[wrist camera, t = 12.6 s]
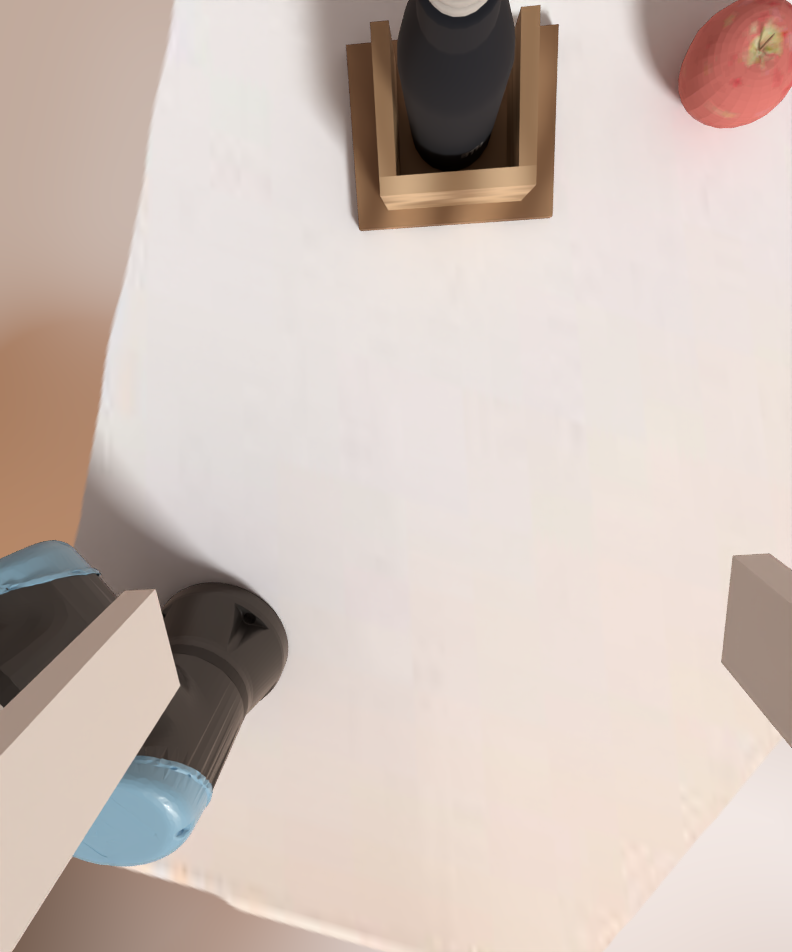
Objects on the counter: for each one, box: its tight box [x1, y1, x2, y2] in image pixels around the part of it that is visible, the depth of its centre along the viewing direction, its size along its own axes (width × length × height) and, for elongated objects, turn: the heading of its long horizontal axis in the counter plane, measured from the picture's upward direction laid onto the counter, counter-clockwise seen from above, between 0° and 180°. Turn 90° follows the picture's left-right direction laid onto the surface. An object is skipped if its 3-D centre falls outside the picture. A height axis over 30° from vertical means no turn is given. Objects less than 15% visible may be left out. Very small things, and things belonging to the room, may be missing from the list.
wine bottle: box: [397, 0, 515, 171], centre depth 29 cm, size 6×6×30 cm
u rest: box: [346, 5, 559, 231], centre depth 40 cm, size 16×13×8 cm
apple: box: [679, 0, 792, 128], centre depth 38 cm, size 7×7×8 cm
